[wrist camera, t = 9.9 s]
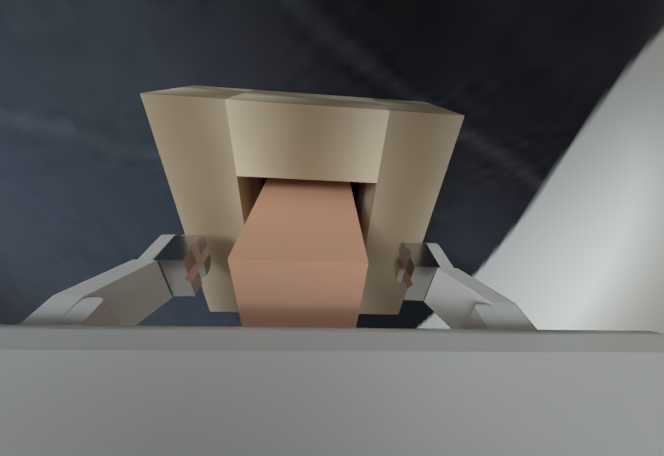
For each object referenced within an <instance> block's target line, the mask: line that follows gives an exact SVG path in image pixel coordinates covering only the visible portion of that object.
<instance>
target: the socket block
mask: <svg viewBox="0 0 664 456" xmlns="http://www.w3.org/2000/svg"><path fill="white" fill-rule="evenodd" d="M140 95H141V98H142V101H143V104H144V107H145V110H146V114H147V117H148V120H149V123H150V126H151V129H152V132H153V135H154V139H155V142H156V145H157V148H158V151H159V154H160V157H161V160H162V164H163V167H164V170H165V173H166V176H167V179H168V182H169V185H170V189H171V192H172V195H173V198H174V201H175V204H176V207H177V210H178V214H179V217H180V220H181V223H182V226H183V229H184V232H185V235H196V236H203V237H205V239H206V242H207V246H206V247H205V249H206V250H207V251H208V252H209V253H210V256H211V266H210V270H209V272H208V274H207V275H206V276H205V277H203V278H202V279H201V280H202V289H203V292H204V295H205V298H206V301H207V304H208V307H209V310H210V312H239V309H238V305H237V300H236V296H235V291H234V286H233V282H232V277H231V273H230V268H229V263H228V257H229V255H230V253H231V251H232V249H233V247H234V245H235V243H236V241H237V239H238V237H239V235H240V233H241V231H242V229H243V227H244V225H245V223H246V221H247V219H248V217H249V215H250V213H251V211H252V208H253V206H254V204H255V202H256V200H257V198H258V196H259V194H260V192H261V190H262V188H263V186H262V177H264V178H284V179H304V180H325V181H345V182H359V190H358V197H357V204H356V211H357V215H358V219H359V224H360V228H361V232H362V237H363V241H364V245H365V249H366V254H367V258H368V262H369V264H368V269H367V274H366V279H365V284H364V290H363V295H362V300H361V305H360V310H359V314H399V311H400V308H401V305H402V302H403V296H402V293H401V290H400V288H399V287H400V284H401V283H400V282H399V281H398V280H397V279H396V276H395V261H396V258H397V257H398V256H399V255H400V253H399V251H398V250H399V246H400V244H401V243H422V242H423V239H424V236H425V233H426V230H427V227H428V224H429V221H430V218H431V215H432V212H433V209H434V206H435V203H436V200H437V197H438V194H439V191H440V188H441V185H442V182H443V179H444V176H445V173H446V170H447V167H448V164H449V161H450V158H451V155H452V152H453V149H454V146H455V143H456V140H457V137H458V134H459V131H460V128H461V125H462V122H463V119H464V115H461V114H458V113H455V112H453V111H450V110H447V109H444V108H441V107H438V106H435V105H432V104H430V103H427V102H418V101H404V100H390V99H376V98H362V97H348V96H334V95H320V94H306V93H292V92H278V91H264V90H250V89H236V88H222V87H209V86H195V85H193V86H187V87H180V88H173V89H166V90H160V91H153V92H146V93H140Z"/></svg>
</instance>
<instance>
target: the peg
mask: <svg viewBox="0 0 664 456" xmlns="http://www.w3.org/2000/svg"><path fill="white" fill-rule="evenodd" d="M228 263H229V268H230V273H231V277H232V282H233V286H234V291H235V296H236V300H237V305H238V309H239V314H240V319H241V323H242V327H318V328H356V325H357V320H358V315H359V310H360V305H361V300H362V295H363V290H364V284H365V279H366V274H367V269H368V264H369V262H368V258H367V254H366V249H365V245H364V241H363V237H362V232H361V228H360V224H359V219H358V215H357V211H356V207H355V202H354V198H353V194H352V189H351V185H350V182H345V181H325V180H304V179H284V178H267V180H266V182H265V184H264V186H263V188H262V190H261V192H260V194H259V196H258V198H257V200H256V202H255V204H254V206H253V208H252V211H251V213H250V215H249V217H248V219H247V221H246V223H245V225H244V227H243V229H242V231H241V233H240V235H239V237H238V239H237V241H236V243H235V245H234V247H233V249H232V251H231V253H230V255H229V257H228Z"/></svg>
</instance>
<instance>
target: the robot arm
mask: <svg viewBox="0 0 664 456" xmlns="http://www.w3.org/2000/svg"><path fill="white" fill-rule="evenodd" d="M206 246H207V242H206V239H205V237H203V236H196V235H176V234H163V235H161V236H160V237H159V238H158V239H157V240H156V241H155V242H154V243H153V244H152V245H151V246H150V247H149V248H148V249H147V250H146V251H145V252H144V253H143V254H142V255H141V256H140V258H139V259H138V260H131V261H129V262H126V263H124V264H122V265H120V266H118V267H115V268H113V269H111V270H109V271H106V272H104V273H102V274H100V275H97V276H95V277H93V278H91V279H89V280H86V281H84V282H82V283H80V284H77V285H75V286H73V287H71V288H68V289H66V290H64V291H62V292H60V293H57V294H55V295H53V296H52V297H51V298H50V299H48V300H47V301H46V302H45V303H44V304H42V305H41V306H40V307H39V308H38V309H37V310H35V311H34V312H33V313H32V314H31V315H29V316H28V317H27V318H26V319H25V320H24V321H22V322H21V323H20V324H0V456H664V334H662V333H658V332H651V331H593V330H591V331H590V330H537V329H536V328H535V327H534V325H533V324H532V323H531V322H530V320H529V319H528V318H527V317H526V316H525V314H524V313H523V312H522V311H521V309H520V308H519V307H518V306H517V304H515V303H514V302H512V301H510V300H509V299H507V298H506V297H504V296H502V295H500V294H499V293H497V292H496V291H494V290H492V289H491V288H489V287H487V286H486V285H484V284H483V283H481V282H479V281H478V280H476V279H474V278H473V277H471V276H469V275H468V274H466V273H465V272H463V271H461V270H460V269H458V268H454V267H453V266H452V264H451V263H450V261H449V260H448V258H447V257H446V255H445V254H444V252H443V251H442V249H441V248H440V246H439V245H438V244H437V243H401V244H400V246H399V250H398V251H399V253H400V255H399V256H398V257H397V258H396V261H395V276H396V279H397V280H398V281H399V282H400V283H401V284H400V287H399V288H400V290H401V293H402V296H403V299H404V300H418V301H424V302H425V303H426V304H427V305H428V306H429V307H430V308H431V309H432V310H433V311H434V312H435V313H436V314H437V315H438V316H439V317H440V318H441V319H442V320H443V321H444V322H445V323H446V324H447V325H448V326H449V327H450V328H451V329H401V328H318V327H221V326H135V325H137V324H138V323H139V322H141V321H142V320H143V319H145V318H146V317H147V316H149V315H150V314H151V313H152V312H154V311H155V310H156V309H158V308H159V307H160V306H162V305H163V304H164V303H166V302H167V301H168V300H170V299H171V298H172V296H195V295H196V294H197V292H198V290H199V288H200V287H201V285H202V280H201V279H202V278H203V277H205V276H206V275H207V274H208V272H209V270H210V266H211V256H210V253H209V252H208V251H207V250H206V249H205V247H206Z"/></svg>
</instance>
